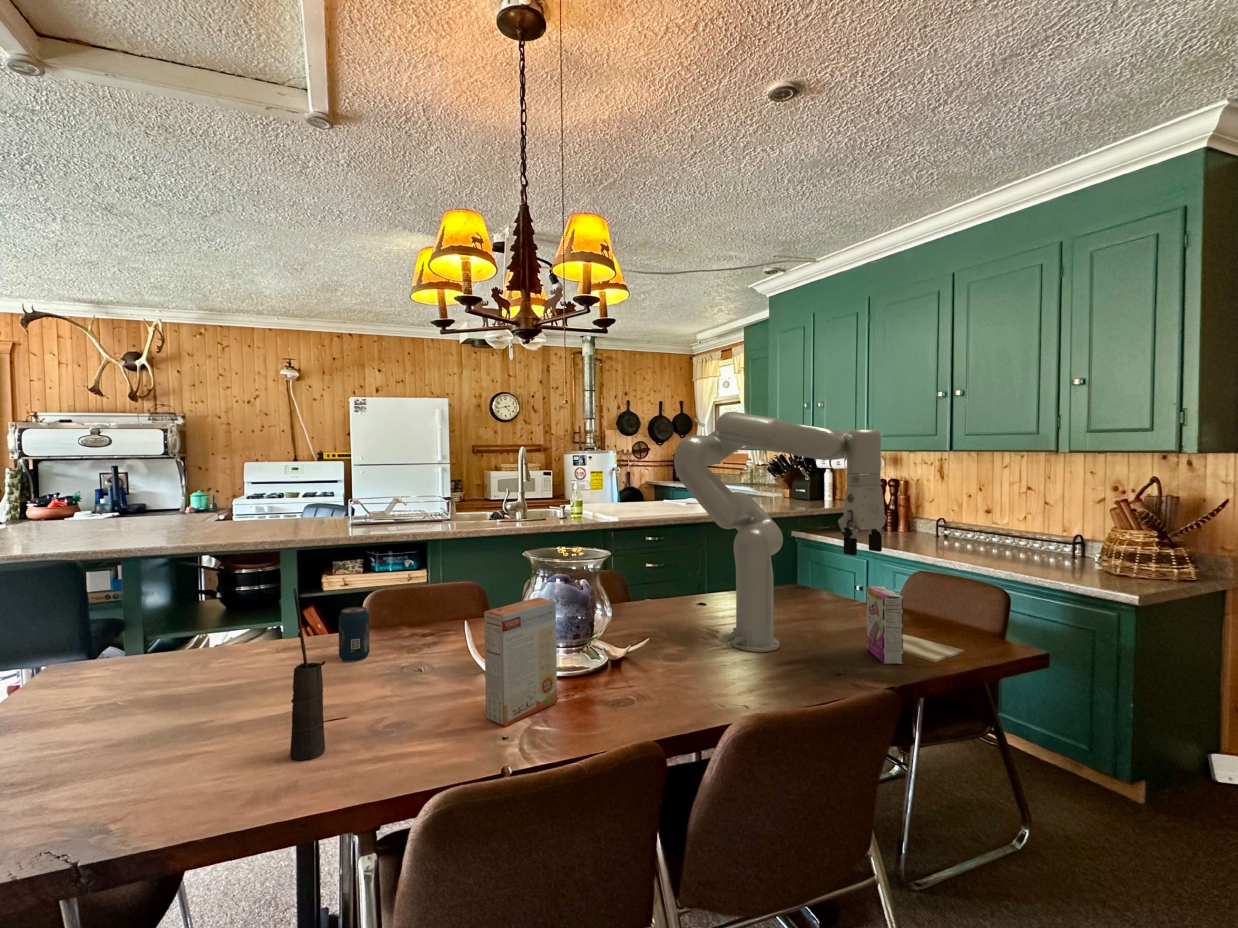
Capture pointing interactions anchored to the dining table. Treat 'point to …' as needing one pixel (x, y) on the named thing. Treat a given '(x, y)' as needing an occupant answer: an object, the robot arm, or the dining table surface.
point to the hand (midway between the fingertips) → (862, 552)
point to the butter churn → (307, 705)
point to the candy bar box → (884, 624)
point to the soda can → (354, 634)
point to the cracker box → (520, 660)
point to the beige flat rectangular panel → (928, 649)
